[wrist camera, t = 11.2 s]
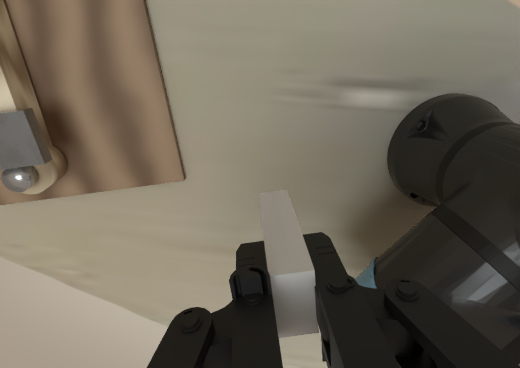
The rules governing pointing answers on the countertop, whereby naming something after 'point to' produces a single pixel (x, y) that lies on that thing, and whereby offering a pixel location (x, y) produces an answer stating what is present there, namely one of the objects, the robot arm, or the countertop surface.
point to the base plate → (97, 94)
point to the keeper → (21, 140)
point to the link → (24, 100)
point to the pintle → (19, 178)
